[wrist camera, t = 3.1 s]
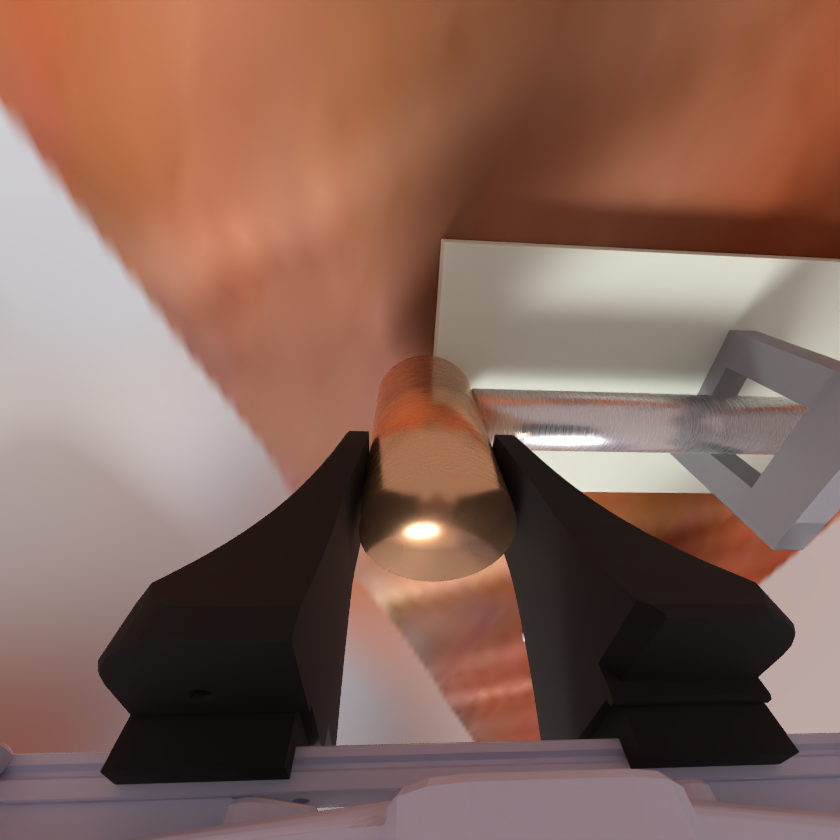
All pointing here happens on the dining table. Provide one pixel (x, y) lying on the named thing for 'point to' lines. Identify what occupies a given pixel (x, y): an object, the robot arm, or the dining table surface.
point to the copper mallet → (536, 428)
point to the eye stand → (662, 358)
